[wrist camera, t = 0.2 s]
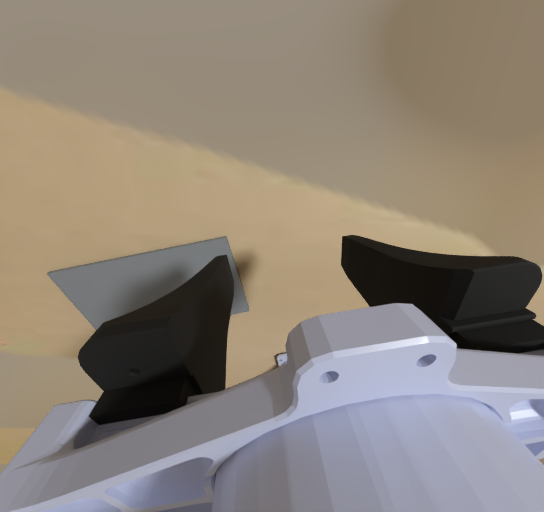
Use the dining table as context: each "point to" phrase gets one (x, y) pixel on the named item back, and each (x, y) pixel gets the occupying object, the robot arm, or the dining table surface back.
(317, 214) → the dining table surface
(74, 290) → the rubber mat
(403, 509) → the robot arm
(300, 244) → the dining table surface
